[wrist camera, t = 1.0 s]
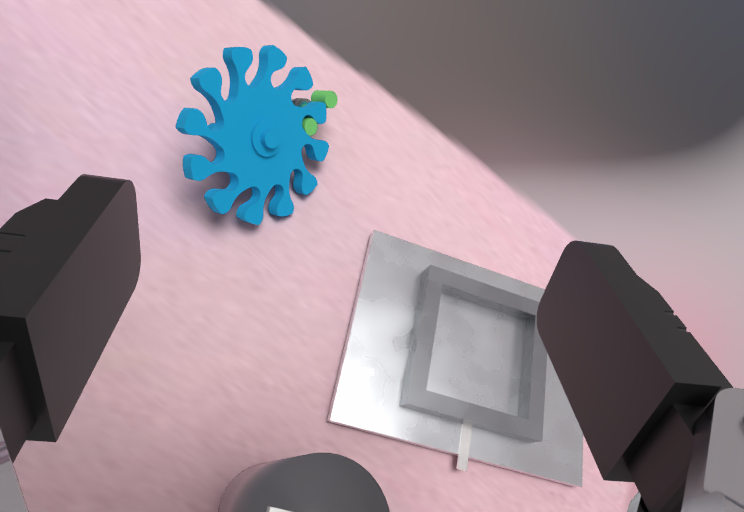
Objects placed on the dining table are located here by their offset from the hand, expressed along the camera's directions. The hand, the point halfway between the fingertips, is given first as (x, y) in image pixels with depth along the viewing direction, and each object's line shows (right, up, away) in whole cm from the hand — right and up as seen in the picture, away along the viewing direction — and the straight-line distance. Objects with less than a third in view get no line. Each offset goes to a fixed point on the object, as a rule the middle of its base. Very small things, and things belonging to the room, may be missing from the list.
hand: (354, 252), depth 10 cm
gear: (-7, +6, +24) cm, 26 cm away
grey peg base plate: (+6, -6, +24) cm, 25 cm away
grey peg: (-5, -13, +17) cm, 22 cm away
